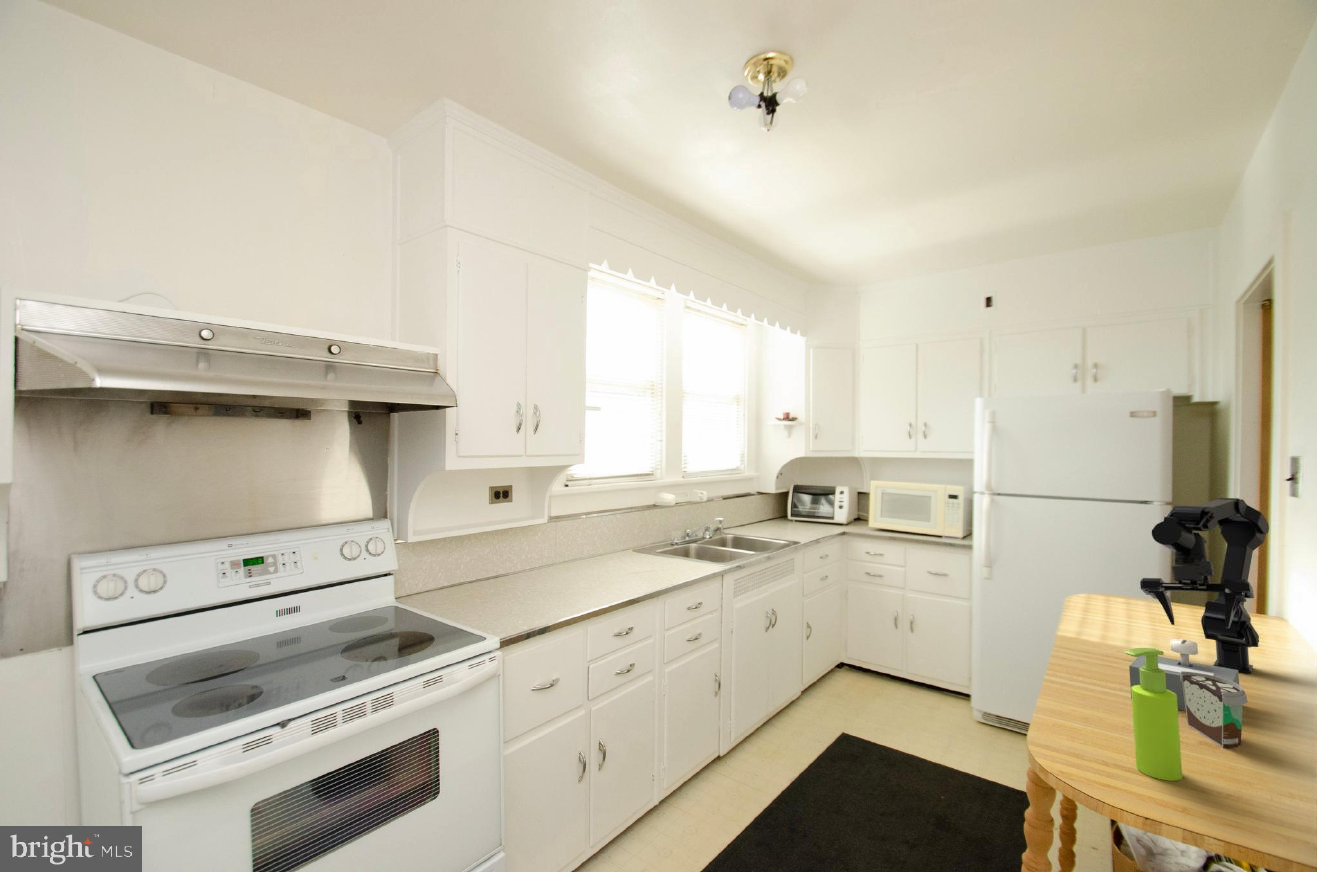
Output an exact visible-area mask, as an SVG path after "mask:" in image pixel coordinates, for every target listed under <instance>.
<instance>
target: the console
mask: <svg viewBox="0 0 1317 872" xmlns="http://www.w3.org/2000/svg"><path fill="white" fill-rule="evenodd" d="M1189 664H1190V667H1187V666H1182V665H1181V659H1177V658H1171V657H1164V656H1161V655H1158V668H1160V669H1162V670H1164V671H1165V675H1166V689H1167V690H1170V691H1172V692H1174V693H1175V694H1176V695H1177V706H1178V710H1180V711H1184V712H1186V708H1185V700H1184V692H1183V685H1182V681H1180V674H1181V671H1185V672H1195V673H1202V674H1207V675H1212V676H1216V677H1220V678H1224V679H1227V680H1230V681H1232V682H1235V683H1237V684H1239V685H1240V676H1239V674H1240V673H1239V671H1238V670H1235V669H1229V668H1223V667H1217V666H1214V665H1211V664H1204V663H1200V662H1195V661H1189ZM1128 666H1129V683H1130V685H1129V686H1130V688H1131V687H1132V686H1135V685H1140V672H1139V668H1140V667H1143V666H1145V655H1144V656H1139V657H1135V659H1134V660H1133V661H1132V662H1131V663H1130V664H1129V665H1128ZM1130 700H1132V693H1131V692H1130Z"/></svg>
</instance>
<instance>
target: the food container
mask: <svg viewBox="0 0 1317 872" xmlns="http://www.w3.org/2000/svg"><path fill="white" fill-rule="evenodd" d="M1180 681H1182V685H1183V692H1184V700H1185V708H1186V711H1185V713H1186V721H1187V727H1189V728H1191V729H1193V730H1194V731H1196V732H1198V733H1199V734H1200V735H1202V736H1204V737H1205V738H1207V739H1208V740H1210V741H1211V742H1213V743H1214V744H1216V745H1217V746H1219V747H1220V748H1222V749H1235V748H1239V747H1241V746H1242V734H1243V733H1242V731H1243V730H1242V729H1243V728H1242V727H1243V706H1244V705H1246V704H1248V701H1249V700H1248V697H1247V695H1246V691H1245V690H1244V689H1243V687H1242V686H1241V685H1240V683H1239V684H1237V683H1235V682H1232V681H1230V680H1227V679H1224V678H1220V677H1216V676H1212V675H1207V674H1202V673H1195V672H1185V671H1181V674H1180Z"/></svg>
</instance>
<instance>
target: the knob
mask: <svg viewBox="0 0 1317 872" xmlns="http://www.w3.org/2000/svg"><path fill="white" fill-rule="evenodd" d="M1169 642H1170V643H1169V644H1170V651H1172V652H1174V653H1177V654H1179V655H1180V656H1179V657H1180V660H1181V665H1182V666H1187V667H1190V664H1189V662H1190V655H1192V656H1193V655H1195V656H1196V655H1198V654H1199V649H1198V643H1197V642H1196V641H1192V640H1188V639H1179V638H1171V639H1170V640H1169Z"/></svg>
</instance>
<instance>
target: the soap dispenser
mask: <svg viewBox="0 0 1317 872" xmlns="http://www.w3.org/2000/svg"><path fill="white" fill-rule="evenodd" d="M1124 654H1126V655H1128V656H1131V657H1134V658H1137V657H1139V656H1144V655H1145V666H1143V667H1140V668H1139V672H1140V685H1135V686H1132V687H1131V686H1130V694H1131V693H1132V699H1131V706H1132V721H1133V723H1132V724H1133V737H1134V739H1133V740H1134V751H1135V753H1134V754H1135V767H1136V769H1137V770H1138V771H1139V772H1141V773H1143V774H1144V775H1146V776H1149V777H1152V778H1155V779H1158V780H1163V781H1173V782H1174V781H1180V780H1182V778H1183V768H1182V753H1181V740H1180V739H1181V737H1180V722H1179V721H1180V720H1179V711H1178V710H1179V709H1178V706H1177V695H1176V694H1175V693H1174V692H1172V691H1170V690H1167V689H1166V675H1165V671H1164V670H1162V669H1160V668H1158V656H1165V654H1164V651H1163V650H1161V649H1156V648H1153V647H1136V648H1131V649H1127V650H1125V651H1124Z"/></svg>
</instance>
